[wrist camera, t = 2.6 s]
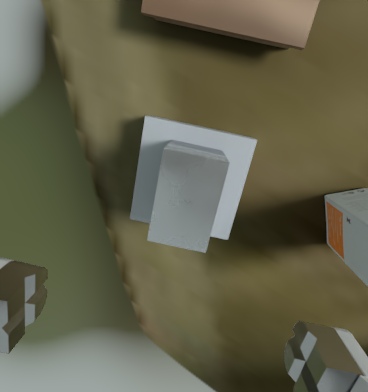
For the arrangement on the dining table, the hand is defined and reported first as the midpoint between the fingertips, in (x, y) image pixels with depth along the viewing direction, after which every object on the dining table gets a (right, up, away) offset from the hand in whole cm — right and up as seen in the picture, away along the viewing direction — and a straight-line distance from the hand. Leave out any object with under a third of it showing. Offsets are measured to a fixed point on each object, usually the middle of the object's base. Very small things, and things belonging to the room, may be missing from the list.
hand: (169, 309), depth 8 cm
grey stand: (+1, +6, +18) cm, 19 cm away
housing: (+1, +5, +15) cm, 16 cm away
